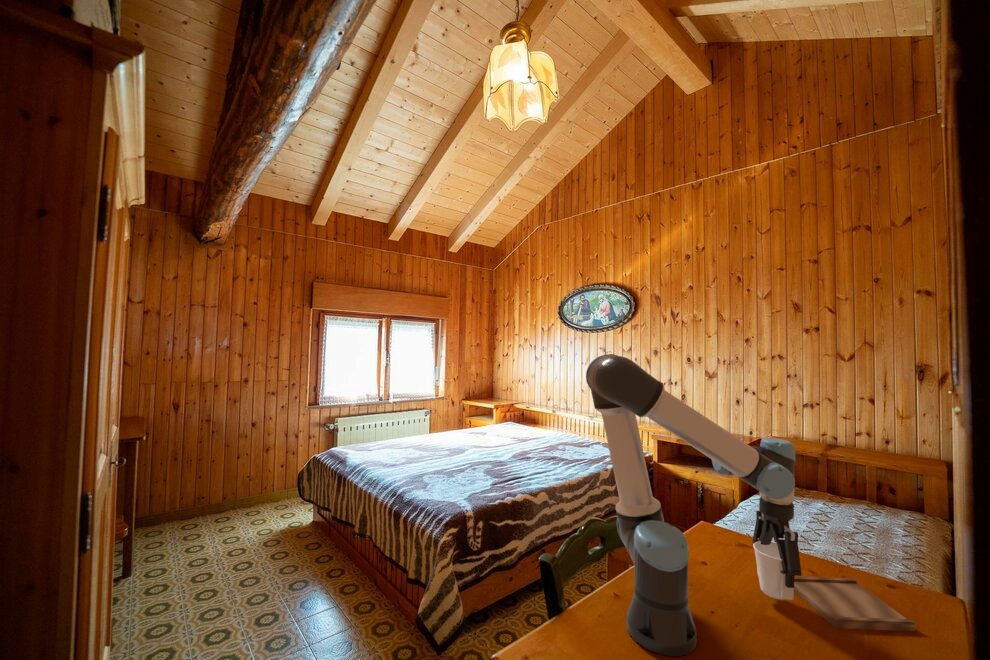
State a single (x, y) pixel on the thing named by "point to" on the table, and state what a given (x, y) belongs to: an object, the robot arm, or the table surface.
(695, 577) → the table surface
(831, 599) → the board
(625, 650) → the table surface
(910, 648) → the table surface
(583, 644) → the table surface
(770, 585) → the cup
